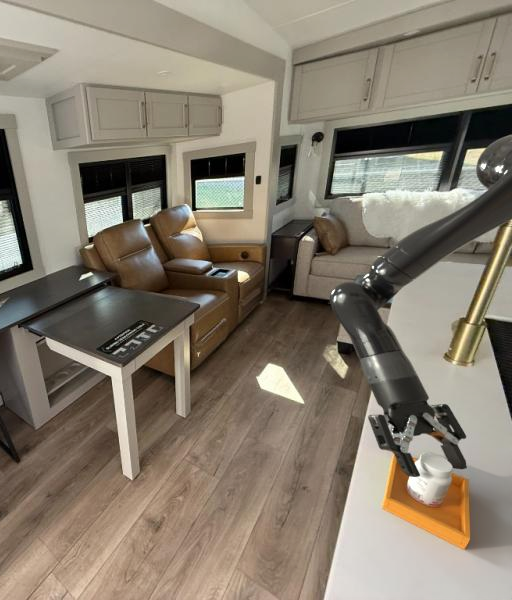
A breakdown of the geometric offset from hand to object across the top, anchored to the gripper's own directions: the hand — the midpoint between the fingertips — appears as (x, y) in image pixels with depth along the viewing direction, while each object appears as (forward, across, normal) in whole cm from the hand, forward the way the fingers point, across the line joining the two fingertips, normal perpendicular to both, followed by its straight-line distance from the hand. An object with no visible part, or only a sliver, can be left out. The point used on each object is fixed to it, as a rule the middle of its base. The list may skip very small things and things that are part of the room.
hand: (436, 472), depth 54 cm
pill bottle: (+4, 0, +5) cm, 7 cm away
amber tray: (+5, 0, +5) cm, 7 cm away
